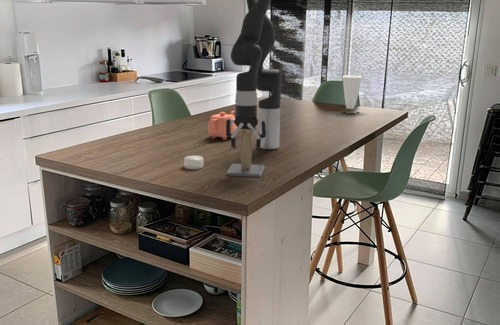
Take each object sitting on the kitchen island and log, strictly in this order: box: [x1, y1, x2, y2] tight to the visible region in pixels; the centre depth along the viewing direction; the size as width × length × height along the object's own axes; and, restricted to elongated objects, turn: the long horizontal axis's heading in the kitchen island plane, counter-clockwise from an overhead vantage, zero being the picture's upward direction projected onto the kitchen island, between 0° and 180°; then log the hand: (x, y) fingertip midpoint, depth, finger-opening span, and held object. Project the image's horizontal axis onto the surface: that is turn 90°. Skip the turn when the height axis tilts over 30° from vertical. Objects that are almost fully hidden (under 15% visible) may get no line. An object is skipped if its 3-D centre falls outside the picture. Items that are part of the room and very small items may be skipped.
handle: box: [238, 128, 255, 170], centre depth 183 cm, size 5×6×15 cm
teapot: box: [207, 109, 237, 141], centre depth 239 cm, size 20×12×12 cm, turn 152°
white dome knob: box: [183, 155, 204, 170], centre depth 191 cm, size 7×7×4 cm
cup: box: [342, 74, 363, 110], centre depth 309 cm, size 12×12×22 cm
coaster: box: [225, 163, 265, 178], centre depth 185 cm, size 12×12×1 cm
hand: (245, 148), depth 183 cm, fingers open, 8 cm apart
